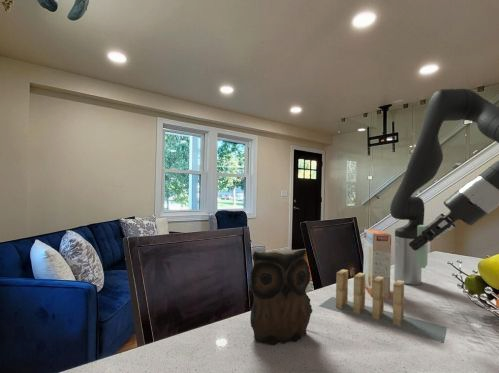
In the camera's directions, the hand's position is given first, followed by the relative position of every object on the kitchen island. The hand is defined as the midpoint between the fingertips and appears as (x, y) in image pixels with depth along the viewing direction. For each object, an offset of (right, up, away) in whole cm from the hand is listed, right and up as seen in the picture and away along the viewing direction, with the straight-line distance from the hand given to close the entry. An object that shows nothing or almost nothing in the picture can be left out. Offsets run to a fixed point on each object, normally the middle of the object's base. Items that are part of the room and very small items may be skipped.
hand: (413, 246), depth 71 cm
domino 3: (-7, -20, +5) cm, 22 cm away
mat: (-7, -20, +5) cm, 22 cm away
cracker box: (+2, -21, +25) cm, 33 cm away
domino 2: (-11, -20, +8) cm, 24 cm away
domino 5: (+1, -5, -1) cm, 5 cm away
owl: (-35, -20, -5) cm, 40 cm away
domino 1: (-15, -20, +11) cm, 27 cm away
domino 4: (-3, -20, +2) cm, 20 cm away
